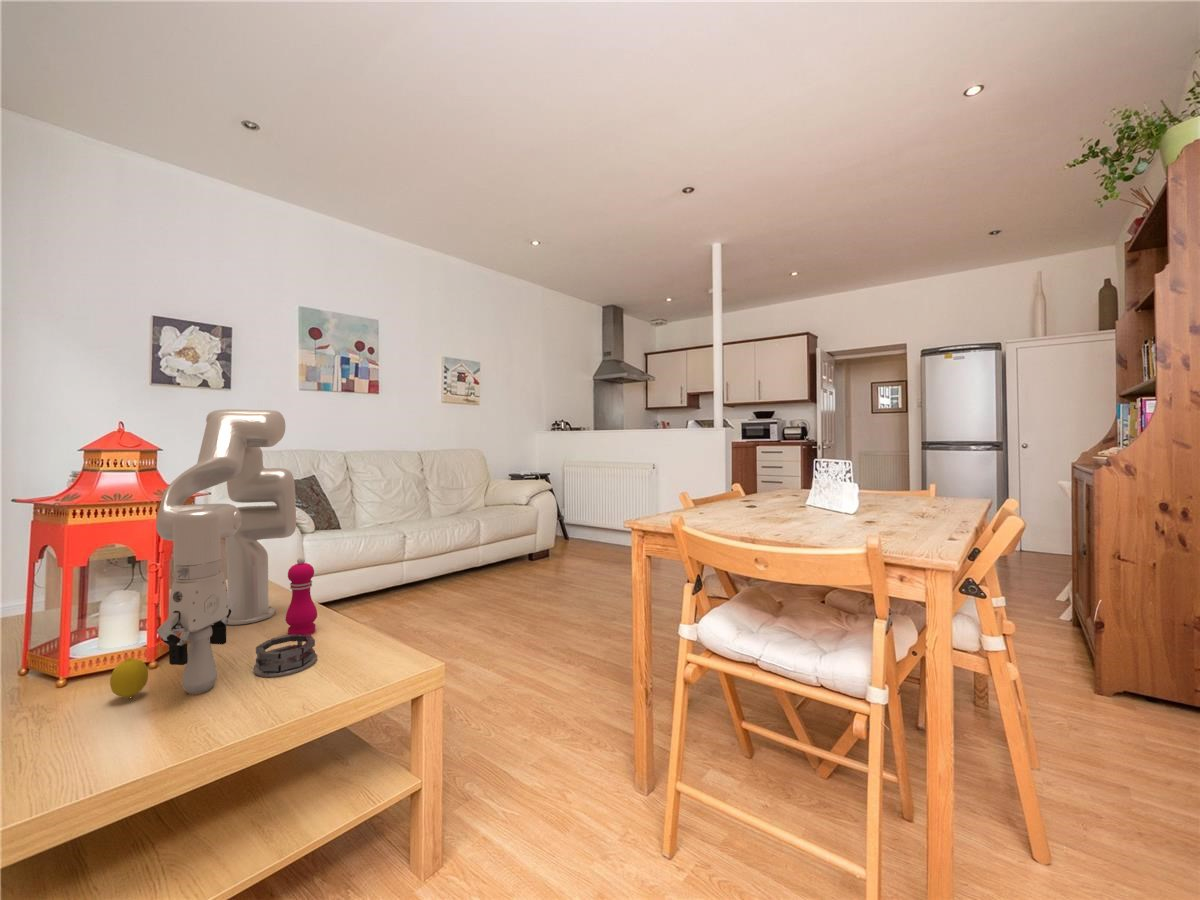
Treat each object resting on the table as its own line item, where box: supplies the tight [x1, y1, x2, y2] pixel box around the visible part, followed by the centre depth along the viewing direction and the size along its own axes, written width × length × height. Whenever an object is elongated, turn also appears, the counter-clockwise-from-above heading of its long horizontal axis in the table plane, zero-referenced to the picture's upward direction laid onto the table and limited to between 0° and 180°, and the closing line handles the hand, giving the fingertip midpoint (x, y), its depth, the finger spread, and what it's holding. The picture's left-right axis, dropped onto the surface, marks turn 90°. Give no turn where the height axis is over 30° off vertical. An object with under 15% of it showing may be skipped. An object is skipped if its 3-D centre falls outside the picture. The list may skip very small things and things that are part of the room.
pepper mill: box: [285, 557, 318, 635], centre depth 134 cm, size 7×7×20 cm
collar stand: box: [252, 634, 318, 679], centre depth 116 cm, size 12×12×5 cm
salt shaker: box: [181, 626, 218, 696], centre depth 104 cm, size 6×6×13 cm
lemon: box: [109, 657, 149, 699], centre depth 101 cm, size 6×6×8 cm
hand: (199, 653), depth 104 cm, fingers open, 9 cm apart
